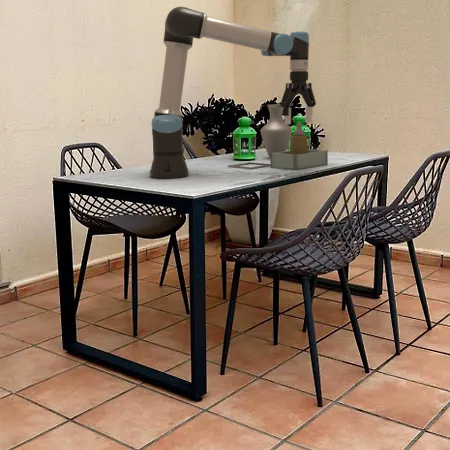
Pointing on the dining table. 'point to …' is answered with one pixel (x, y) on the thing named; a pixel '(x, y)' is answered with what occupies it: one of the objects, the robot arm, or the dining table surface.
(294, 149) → the squeeze bottle
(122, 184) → the dining table surface
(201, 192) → the dining table surface
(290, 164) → the bin
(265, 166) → the brown flat square frame
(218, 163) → the dining table surface
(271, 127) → the vase
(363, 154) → the dining table surface
